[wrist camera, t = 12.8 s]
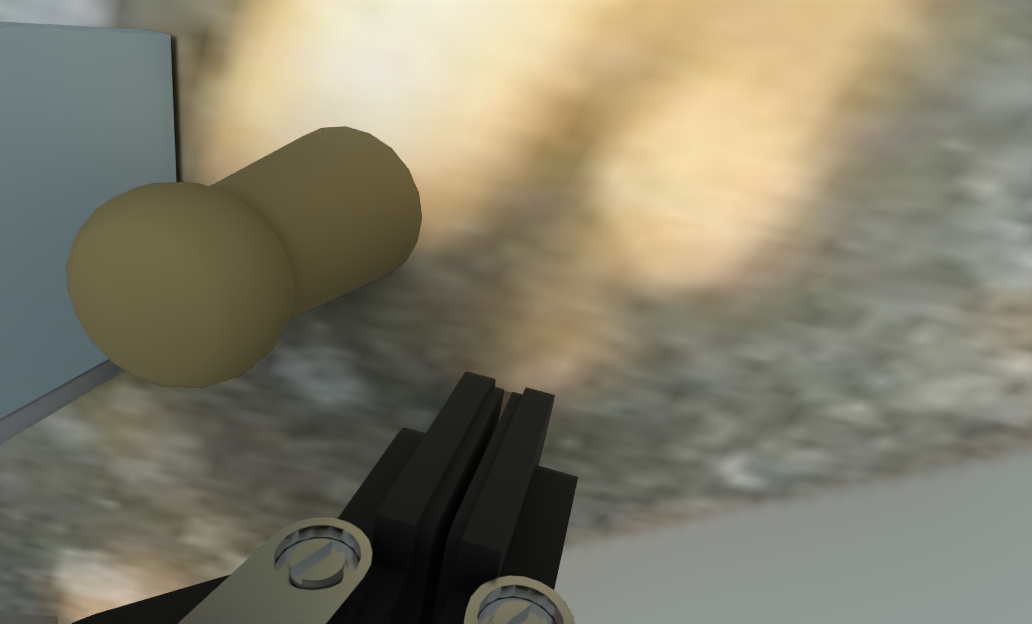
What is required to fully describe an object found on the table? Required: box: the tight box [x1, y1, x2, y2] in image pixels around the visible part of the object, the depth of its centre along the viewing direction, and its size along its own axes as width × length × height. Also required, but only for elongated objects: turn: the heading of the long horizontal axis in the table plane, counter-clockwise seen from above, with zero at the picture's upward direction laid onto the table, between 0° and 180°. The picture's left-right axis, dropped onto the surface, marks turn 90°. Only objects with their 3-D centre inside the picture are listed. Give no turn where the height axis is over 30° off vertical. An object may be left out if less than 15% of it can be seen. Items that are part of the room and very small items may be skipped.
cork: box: [66, 127, 422, 388], centre depth 19 cm, size 6×6×11 cm
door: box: [0, 22, 176, 444], centre depth 21 cm, size 1×12×9 cm, turn 170°
